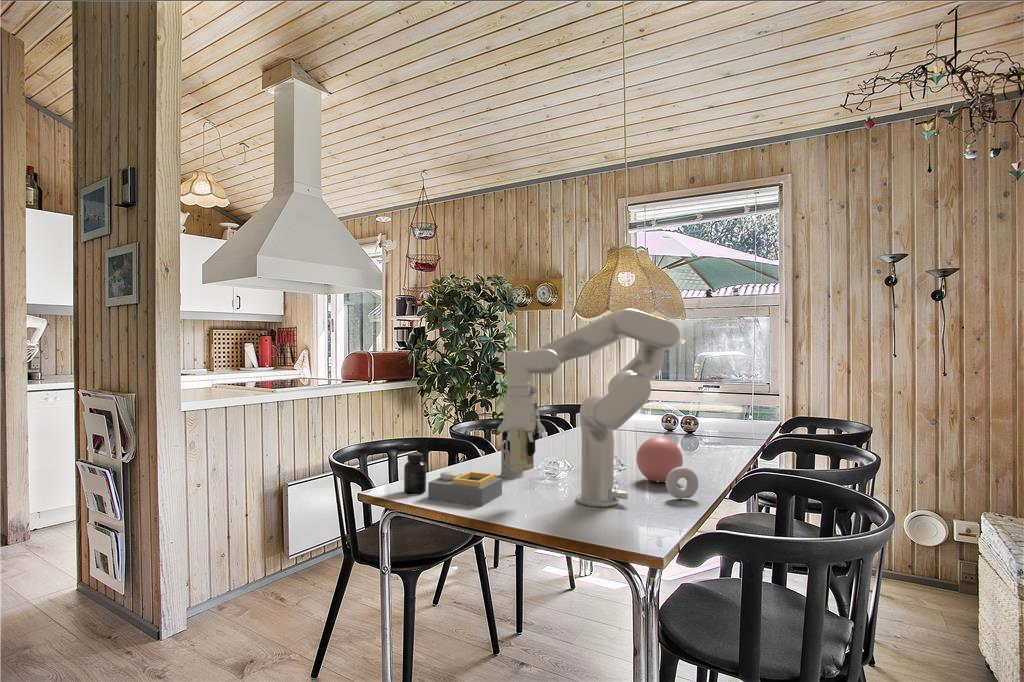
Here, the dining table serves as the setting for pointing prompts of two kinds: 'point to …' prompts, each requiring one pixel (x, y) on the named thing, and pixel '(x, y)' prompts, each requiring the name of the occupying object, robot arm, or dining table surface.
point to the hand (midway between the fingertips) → (522, 454)
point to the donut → (673, 479)
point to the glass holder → (507, 462)
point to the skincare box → (520, 451)
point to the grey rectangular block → (465, 487)
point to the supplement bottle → (415, 474)
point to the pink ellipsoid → (658, 458)
